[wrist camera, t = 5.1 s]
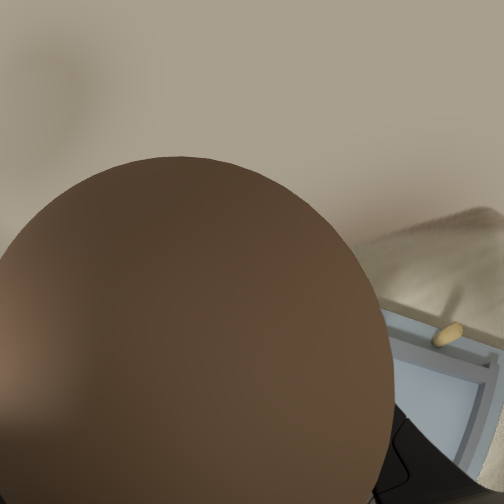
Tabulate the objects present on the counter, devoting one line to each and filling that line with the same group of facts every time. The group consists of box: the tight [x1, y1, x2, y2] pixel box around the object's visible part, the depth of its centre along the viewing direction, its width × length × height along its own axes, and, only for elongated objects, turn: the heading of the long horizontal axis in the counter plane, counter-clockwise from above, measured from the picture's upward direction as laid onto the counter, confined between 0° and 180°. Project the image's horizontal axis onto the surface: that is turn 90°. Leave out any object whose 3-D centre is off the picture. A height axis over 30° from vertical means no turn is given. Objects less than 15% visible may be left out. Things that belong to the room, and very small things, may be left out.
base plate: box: [380, 308, 504, 481], centre depth 14 cm, size 15×15×4 cm
